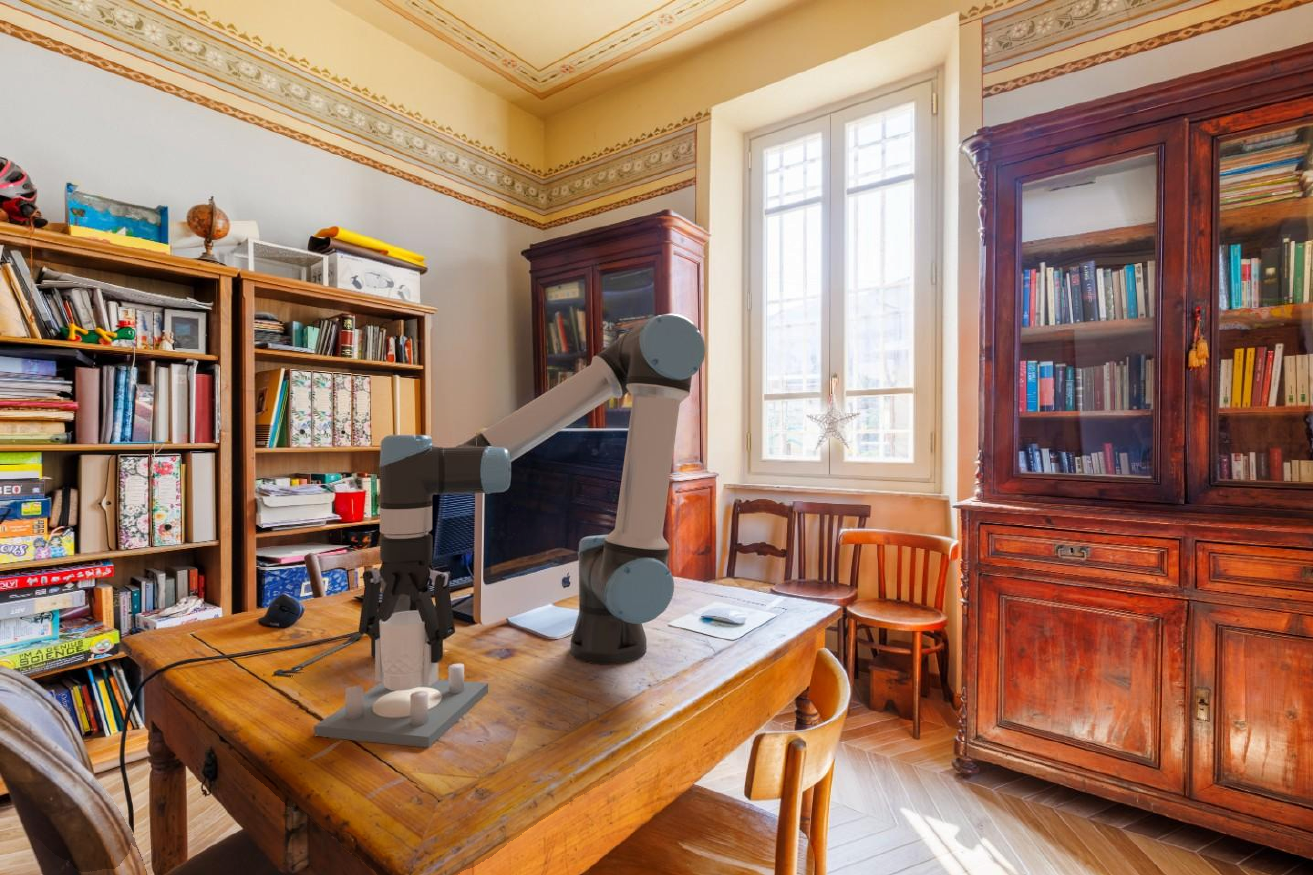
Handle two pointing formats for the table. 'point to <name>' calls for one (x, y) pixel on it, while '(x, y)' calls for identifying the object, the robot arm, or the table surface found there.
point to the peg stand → (403, 711)
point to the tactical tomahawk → (318, 657)
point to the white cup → (403, 650)
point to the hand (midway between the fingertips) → (407, 680)
